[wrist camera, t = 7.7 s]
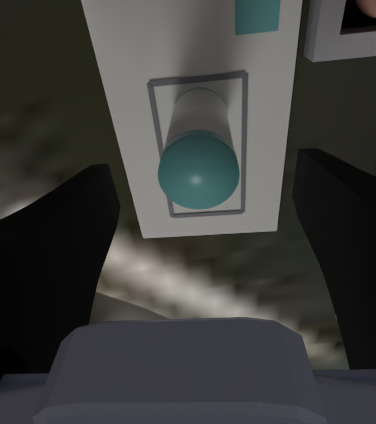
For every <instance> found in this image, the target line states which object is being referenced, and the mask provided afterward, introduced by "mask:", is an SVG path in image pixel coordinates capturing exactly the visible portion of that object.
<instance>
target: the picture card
mask: <svg viewBox="0 0 376 424" xmlns="http://www.w3.org/2000/svg"><path fill="white" fill-rule="evenodd" d="M81 1H82V5H83V9H84V13H85V17H86V21H87V24H88V28H89V32H90V36H91V40H92V44H93V47H94V51H95V55H96V59H97V63H98V67H99V70H100V74H101V78H102V82H103V86H104V90H105V93H106V97H107V101H108V105H109V109H110V113H111V117H112V120H113V124H114V128H115V132H116V136H117V140H118V143H119V147H120V151H121V155H122V159H123V163H124V166H125V170H126V174H127V178H128V182H129V186H130V189H131V193H132V197H133V201H134V205H135V209H136V213H137V216H138V220H139V224H140V228H141V232H142V236H143V238H158V237H176V236H193V235H211V234H229V233H247V232H265V231H277V224H278V215H279V206H280V197H281V188H282V179H283V170H284V161H285V152H286V143H287V134H288V125H289V116H290V107H291V98H292V89H293V80H294V71H295V62H296V53H297V44H298V35H299V26H300V17H301V8H302V0H81ZM198 87H203V88H207V89H210V90H212V91H214V92H215V93H216V94H218V96H219V97H220V98H221V99H222V100H223V102H224V104H225V106H226V109H227V114H228V120H229V125H230V130H231V136H232V141H233V146H234V151H235V153H236V156H237V161H238V166H239V172H240V177H239V182H238V185H237V188H236V190H235V191H234V193H233V194H232V195H231V196H230V197H229V198H228V199H227V200H226V201H224V202H223V203H221V204H220V205H217V206H215V207H212V208H208V209H189V208H185V207H183V206H180V205H178V204H176V203H174V202H173V201H172V200H170V199H169V198H168V197H167V196H166V195H165V193H164V192H163V191H162V189H161V187H160V184H159V181H158V168H159V163H160V159H161V155H162V152H163V150H164V147H165V143H166V138H167V134H168V129H169V125H170V120H171V116H172V112H173V108H174V105H175V103H176V101H177V100H178V99H179V98H180V97H181V95H182V94H184V93H185V92H186V91H188V90H190V89H193V88H198Z"/></svg>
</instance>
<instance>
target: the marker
mask: <svg viewBox="0 0 376 424" xmlns="http://www.w3.org/2000/svg"><path fill="white" fill-rule="evenodd" d="M239 177H240V172H239V166H238V161H237V156H236V153H235V151H234V146H233V141H232V136H231V130H230V125H229V120H228V114H227V109H226V106H225V104H224V102H223V100H222V99H221V98H220V97H219V96H218V94H216V93H215V92H214V91H212V90H210V89H207V88H203V87H198V88H193V89H190V90H188V91H186V92H185V93H184V94H182V95H181V97H180V98H179V99H178V100H177V101H176V103H175V105H174V108H173V112H172V116H171V120H170V125H169V129H168V134H167V138H166V143H165V147H164V150H163V152H162V155H161V159H160V163H159V168H158V181H159V184H160V187H161V189H162V191H163V192H164V193H165V195H166V196H167V197H168V198H169V199H170V200H172V201H173V202H174V203H176V204H178V205H180V206H183V207H185V208H189V209H208V208H212V207H215V206H217V205H220V204H221V203H223V202H224V201H226V200H227V199H228V198H229V197H230V196H231V195H232V194H233V193H234V191H235V190H236V188H237V185H238V182H239Z"/></svg>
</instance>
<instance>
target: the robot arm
mask: <svg viewBox="0 0 376 424" xmlns="http://www.w3.org/2000/svg"><path fill="white" fill-rule="evenodd" d="M292 197H293V201H294V205H295V208H296V212H297V215H298V218H299V220H300V223H301V225H302V227H303V229H304V231H305V234H306V236H307V238H308V240H309V242H310V245H311V247H312V249H313V251H314V253H315V255H316V258H317V260H318V262H319V264H320V267H321V269H322V272H323V275H324V278H325V281H326V284H327V287H328V290H329V294H330V297H331V300H332V304H333V307H334V310H335V317H336V319H337V321H338V324H339V328H340V332H341V336H342V340H343V343H344V347H345V351H346V355H347V359H348V364H349V368H350V370H312V369H311V366H310V362H309V359H308V355H307V352H306V348H305V345H304V341H303V338H302V336H301V335H299V334H298V333H296V332H294V331H292V330H291V329H289V328H287V327H285V326H284V325H282V324H280V323H278V322H276V321H273V320H265V319H257V318H249V317H232V318H196V319H161V320H128V321H105V322H100V323H95V324H90V325H89V320H90V315H91V310H92V305H93V300H94V296H95V292H96V287H97V283H98V279H99V276H100V273H101V270H102V267H103V264H104V262H105V259H106V256H107V253H108V250H109V248H110V245H111V242H112V239H113V236H114V233H115V230H116V227H117V223H118V218H119V212H120V203H119V200H118V196H117V193H116V189H115V186H114V183H113V179H112V176H111V173H110V169H109V166H108V164H97V165H91V166H89V167H87V168H86V169H84V170H82V171H81V172H79V173H78V174H76V175H75V176H73V177H72V178H70V179H69V180H68V181H66V182H65V183H63V184H62V185H60V186H59V187H57V188H56V189H54V190H53V191H51V192H49V193H48V194H46V195H45V196H43V197H41V198H40V199H38V200H37V201H35V202H33V203H32V204H30V205H28V206H26V207H24V208H23V209H21V210H19V211H17V212H15V213H13V214H11V215H9V216H7V217H5V218H3V219H0V424H376V177H375V176H373V175H371V174H369V173H367V172H364V171H362V170H360V169H358V168H356V167H354V166H352V165H350V164H348V163H346V162H344V161H342V160H340V159H338V158H336V157H335V156H333V155H331V154H329V153H327V152H324V151H322V150H320V149H317V148H310V149H299V150H298V157H297V164H296V171H295V179H294V186H293V193H292Z"/></svg>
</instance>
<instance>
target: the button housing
mask: <svg viewBox="0 0 376 424" xmlns="http://www.w3.org/2000/svg"><path fill="white" fill-rule="evenodd" d="M345 3H346V0H310V6H309V14H308V22H307V30H306V38H305V46H304V54H303V56H305V57H306V58H308V59H309V60H311V61H312V62H319V61H329V60H339V59H349V58H359V57H369V56H376V25H374V26H365V27H355V28H346V29H341V25H342V19H343V14H344V9H345Z"/></svg>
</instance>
